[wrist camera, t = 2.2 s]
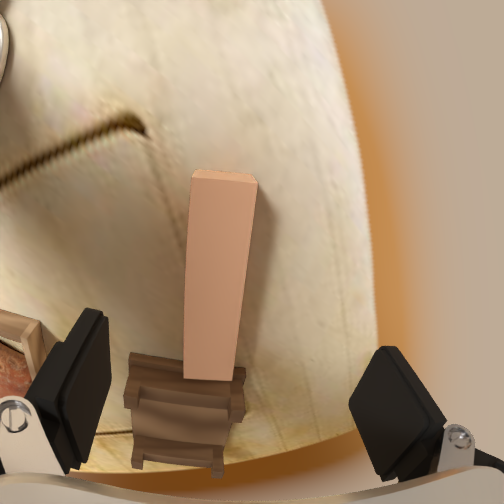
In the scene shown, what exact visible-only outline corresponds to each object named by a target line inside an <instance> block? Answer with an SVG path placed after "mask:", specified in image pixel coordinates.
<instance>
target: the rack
mask: <svg viewBox="0 0 504 504" xmlns="http://www.w3.org/2000/svg"><path fill="white" fill-rule="evenodd" d="M128 360H129V376H128V380H127V383H126V387H125V391H124V395H123V397H124V408H127V409H131V417H132V429H133V439H134V446H133V452H132V458H131V464H132V468H135V469H141V470H142V469H143V461H144V460H148V461H154V462H161V463H168V464H176V465H185V466H195V467H207V468H211V471H212V472H211V473H212V478H222V477H223V474H224V461H223V450H224V447H225V444H226V441H227V437H228V434H229V431H230V428H231V424H232V422H236V423H242V420H243V417H244V414H245V411H246V410H245V402H244V393H243V384H244V381H245V378H246V370H245V368H237V367H234V369H233V377H232V381H221V380H201V379H186V378H184V366H183V361H179V360H173V359H166V358H160V357H154V356H148V355H142V354H137V353H132V352H131V353H130V356H129V359H128Z"/></svg>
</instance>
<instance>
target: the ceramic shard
mask: <svg viewBox="0 0 504 504" xmlns="http://www.w3.org/2000/svg"><path fill="white" fill-rule="evenodd" d="M31 384H32V378H31V375H30V372H29V368H28V365H27V361H26V358H25V355H23V354H21V353H18V352H16V351H14V350H12V349H10V348H8V347H7V346H5V345H3V344H1V343H0V398H3V397H6V396H19V397H22V398H24V396H25V395H26V393H27V391H28V389H29V387H30V385H31Z"/></svg>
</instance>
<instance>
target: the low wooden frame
mask: <svg viewBox="0 0 504 504" xmlns="http://www.w3.org/2000/svg"><path fill="white" fill-rule="evenodd" d="M0 336H2V337H4V338H7V339H10V340H13V341H16V342H19V343H22V346H23V350H24V354H25V358H26V361H27V365H28V368H29V372H30V375H31V378H32V382H33V380H34V378H35V377H36V375H37V373H38V371H39V370H40V368H41V366H42V365H43V363H44V361H45V360H46V358H47V356H46V352H45V347H44V342H43V337H42V332H41V326H40V321H38V320H35V319H31V318H28V317H24V316H21V315H17V314H14V313H11V312H8V311H5V310H1V309H0Z"/></svg>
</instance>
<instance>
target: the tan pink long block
mask: <svg viewBox="0 0 504 504" xmlns="http://www.w3.org/2000/svg"><path fill="white" fill-rule="evenodd" d="M257 187H258V183H257V181H256V180H255V179H254V177H253V176H252V175H251V174H242V173H232V172H222V171H211V170H198V169H196V170H195V172H194V173H193V175H192V178H191V190H190V203H189V216H188V232H187V249H186V269H185V296H184V352H183V366H184V378H186V379H201V380H221V381H232V377H233V369H234V362H235V354H236V346H237V339H238V331H239V323H240V316H241V308H242V300H243V293H244V285H245V278H246V270H247V262H248V255H249V247H250V240H251V232H252V225H253V217H254V210H255V202H256V195H257Z"/></svg>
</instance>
